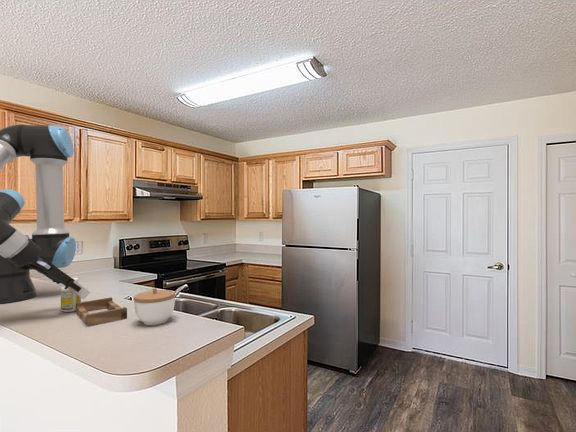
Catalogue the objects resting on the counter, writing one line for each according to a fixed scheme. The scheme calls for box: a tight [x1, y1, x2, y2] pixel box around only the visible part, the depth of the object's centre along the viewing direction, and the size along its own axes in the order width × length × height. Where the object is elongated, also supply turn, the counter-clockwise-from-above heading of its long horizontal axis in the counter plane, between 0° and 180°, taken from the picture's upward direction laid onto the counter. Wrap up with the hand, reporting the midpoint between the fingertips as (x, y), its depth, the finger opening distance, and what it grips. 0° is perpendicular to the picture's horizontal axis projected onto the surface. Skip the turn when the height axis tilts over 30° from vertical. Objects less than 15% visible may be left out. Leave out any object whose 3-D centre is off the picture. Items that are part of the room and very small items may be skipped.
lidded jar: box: [133, 287, 176, 326], centre depth 93 cm, size 11×11×9 cm
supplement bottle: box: [60, 277, 82, 313], centre depth 106 cm, size 5×5×10 cm
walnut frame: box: [75, 296, 128, 327], centre depth 101 cm, size 18×10×3 cm, turn 41°
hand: (83, 294), depth 109 cm, fingers closed on supplement bottle, 5 cm apart
